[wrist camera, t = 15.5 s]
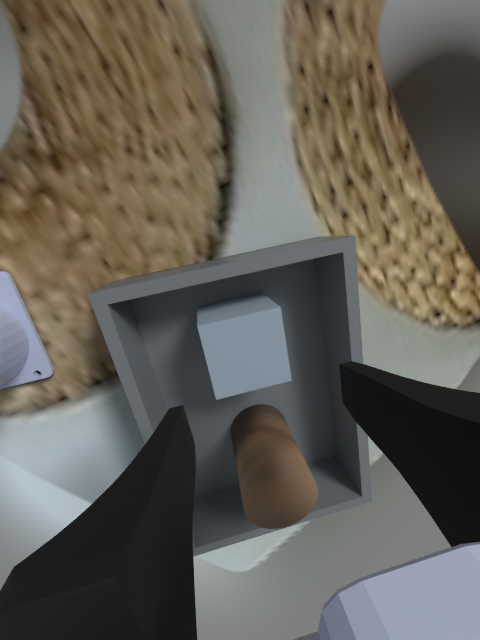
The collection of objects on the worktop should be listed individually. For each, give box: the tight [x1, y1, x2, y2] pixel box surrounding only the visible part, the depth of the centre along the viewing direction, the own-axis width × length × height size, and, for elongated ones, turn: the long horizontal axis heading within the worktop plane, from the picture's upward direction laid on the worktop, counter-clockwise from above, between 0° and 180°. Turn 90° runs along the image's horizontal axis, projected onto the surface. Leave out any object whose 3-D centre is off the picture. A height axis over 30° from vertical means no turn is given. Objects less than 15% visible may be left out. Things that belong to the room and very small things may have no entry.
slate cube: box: [197, 292, 292, 400], centre depth 19 cm, size 5×5×5 cm
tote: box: [88, 236, 372, 556], centre depth 21 cm, size 16×22×5 cm
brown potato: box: [231, 404, 318, 529], centre depth 21 cm, size 5×5×7 cm
